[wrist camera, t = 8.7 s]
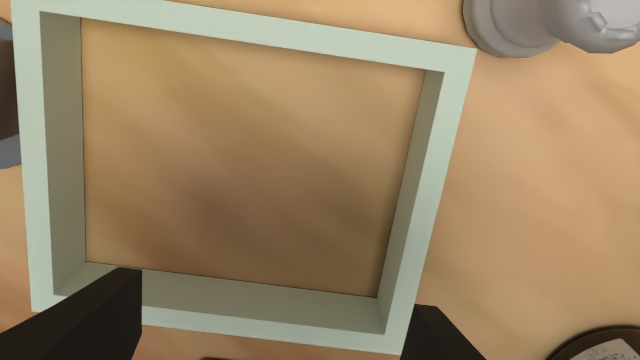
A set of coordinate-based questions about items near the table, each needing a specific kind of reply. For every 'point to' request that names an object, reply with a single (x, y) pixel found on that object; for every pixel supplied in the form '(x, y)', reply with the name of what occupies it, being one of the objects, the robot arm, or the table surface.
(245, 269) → the table surface
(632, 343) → the ink bottle
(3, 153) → the coaster
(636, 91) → the table surface
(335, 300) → the green rectangular frame
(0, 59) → the block
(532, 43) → the rook chess piece
